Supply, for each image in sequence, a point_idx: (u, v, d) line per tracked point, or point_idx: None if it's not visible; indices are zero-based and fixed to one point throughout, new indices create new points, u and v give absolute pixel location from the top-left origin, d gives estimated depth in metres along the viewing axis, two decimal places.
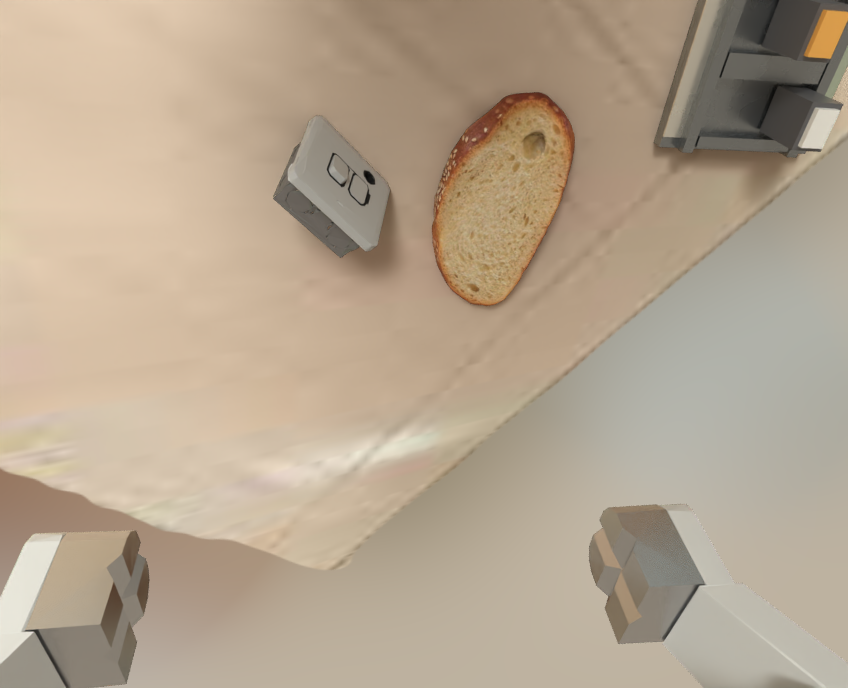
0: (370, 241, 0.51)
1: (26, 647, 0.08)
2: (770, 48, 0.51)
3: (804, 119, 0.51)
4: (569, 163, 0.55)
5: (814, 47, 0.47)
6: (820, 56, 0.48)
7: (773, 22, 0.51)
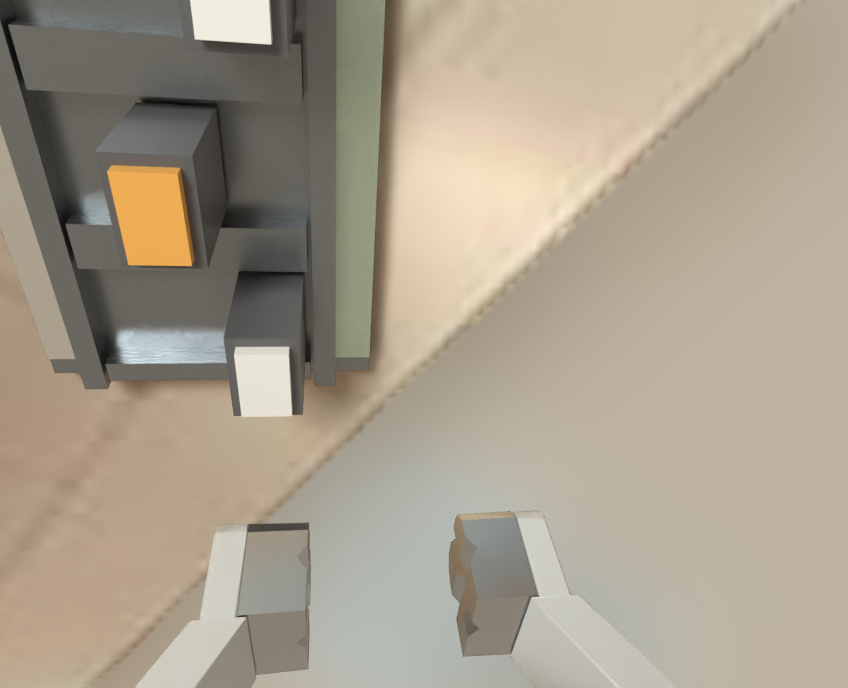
0: None
1: (239, 632, 0.09)
2: None
3: (227, 366, 0.24)
4: None
5: (130, 245, 0.20)
6: (162, 262, 0.20)
7: None
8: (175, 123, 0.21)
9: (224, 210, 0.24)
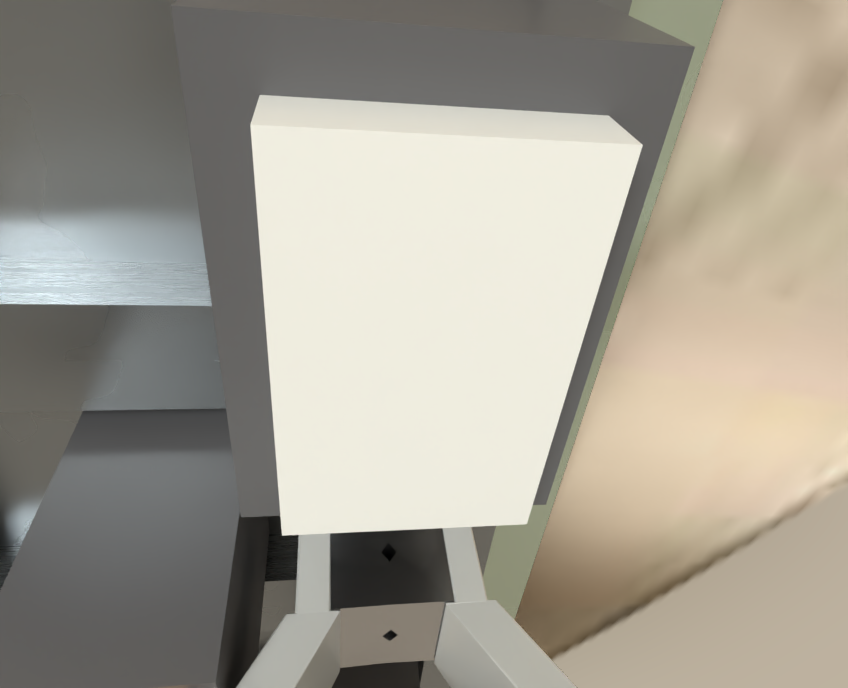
0: None
1: (334, 625, 0.09)
2: None
3: None
4: None
5: None
6: None
7: None
8: (172, 490, 0.09)
9: (266, 554, 0.13)
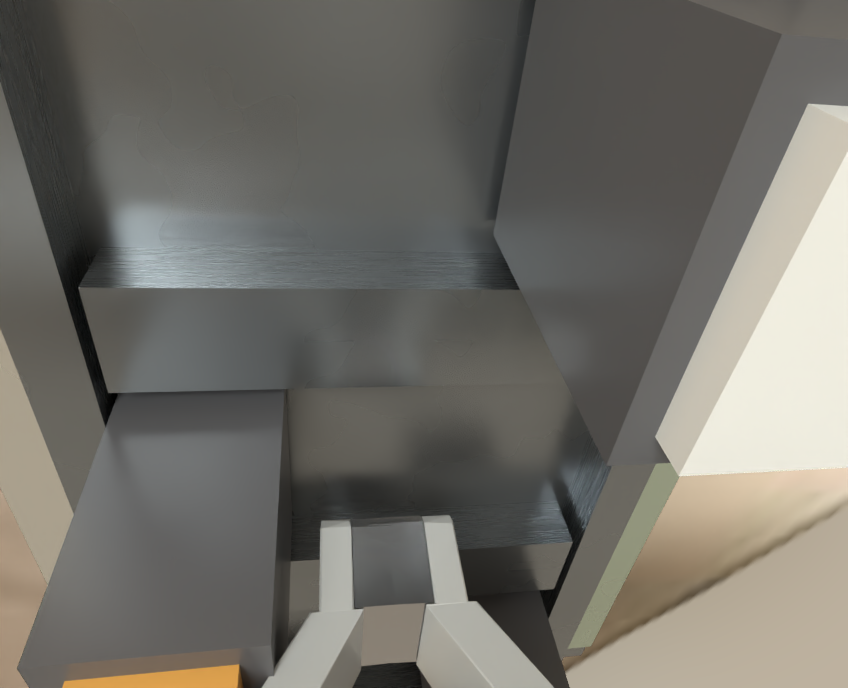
0: None
1: (357, 623, 0.09)
2: None
3: None
4: None
5: None
6: None
7: None
8: (212, 468, 0.10)
9: None
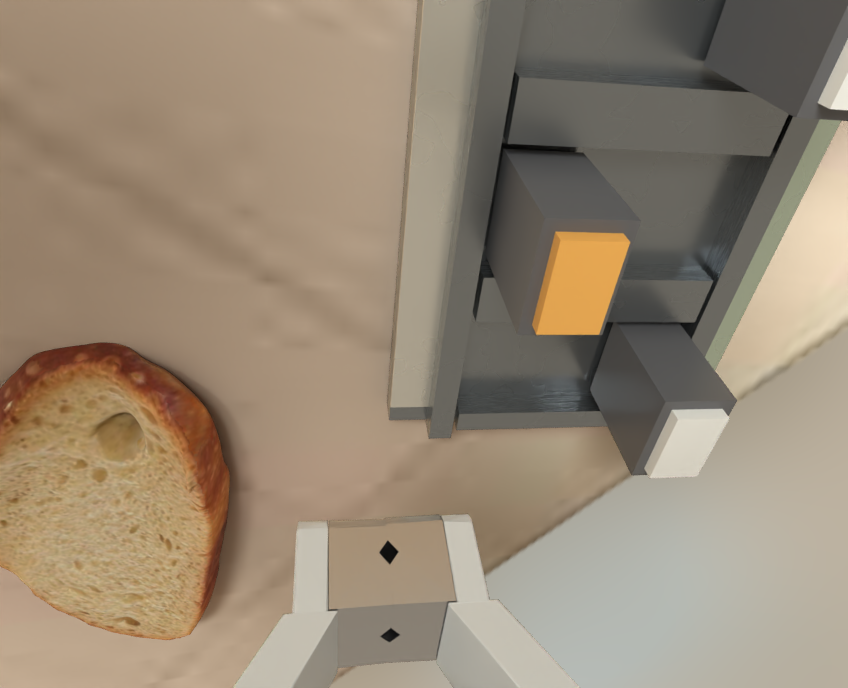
0: None
1: (331, 625, 0.09)
2: (493, 269, 0.22)
3: (651, 427, 0.23)
4: (194, 473, 0.27)
5: (547, 315, 0.18)
6: (570, 332, 0.19)
7: (495, 212, 0.22)
8: (574, 177, 0.19)
9: None
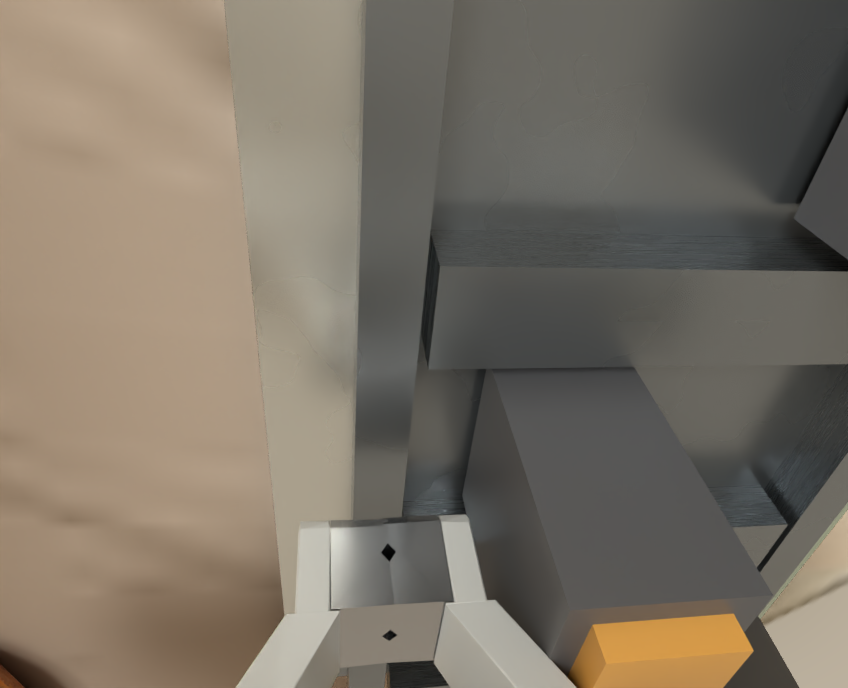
0: None
1: (333, 625, 0.09)
2: (474, 540, 0.13)
3: None
4: None
5: None
6: None
7: (476, 451, 0.13)
8: (619, 438, 0.10)
9: None
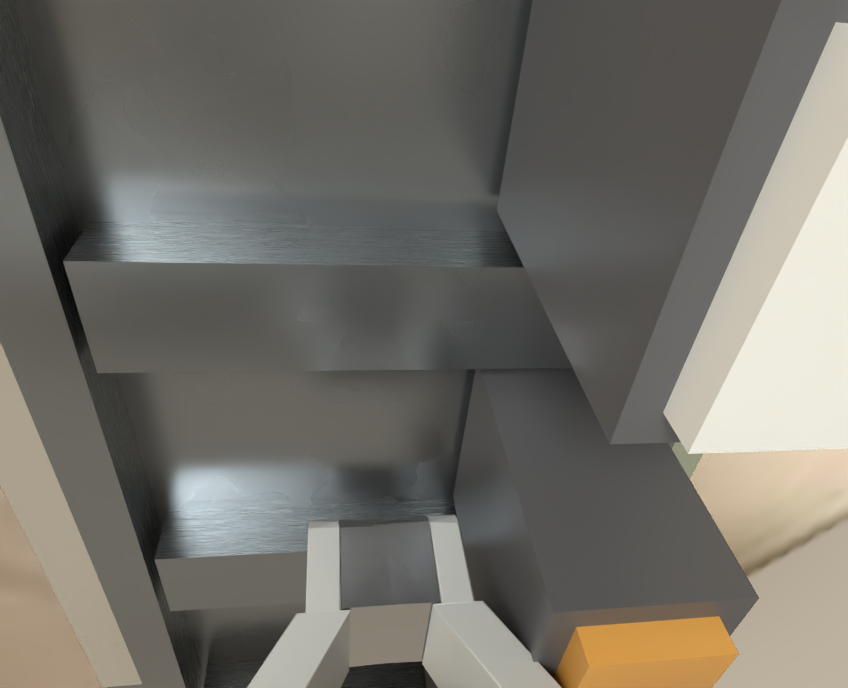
0: None
1: (344, 624, 0.09)
2: (463, 541, 0.13)
3: None
4: None
5: None
6: None
7: (466, 452, 0.13)
8: None
9: None
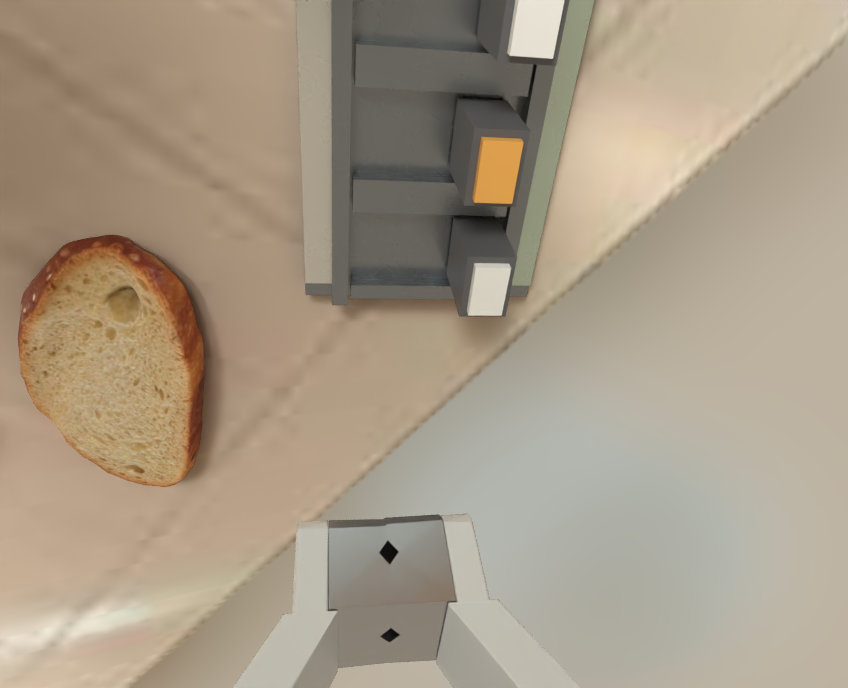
0: None
1: (331, 625, 0.09)
2: (453, 175, 0.35)
3: (464, 277, 0.35)
4: (175, 327, 0.39)
5: (479, 189, 0.31)
6: (494, 201, 0.31)
7: (453, 139, 0.34)
8: (497, 111, 0.32)
9: None
